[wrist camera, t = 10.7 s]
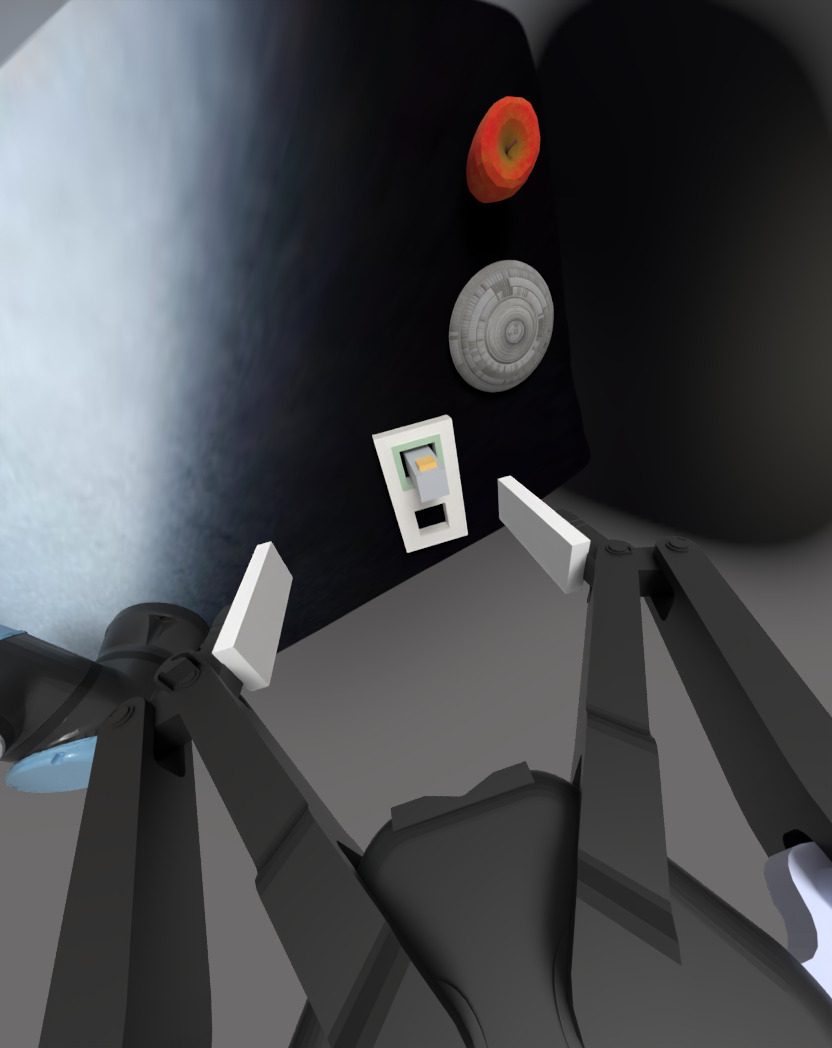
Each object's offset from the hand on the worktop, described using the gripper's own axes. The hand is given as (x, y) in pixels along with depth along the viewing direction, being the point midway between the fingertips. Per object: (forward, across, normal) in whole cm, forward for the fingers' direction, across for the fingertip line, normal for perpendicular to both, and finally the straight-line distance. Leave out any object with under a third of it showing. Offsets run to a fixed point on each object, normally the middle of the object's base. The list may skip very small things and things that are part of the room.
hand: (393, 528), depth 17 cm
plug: (+32, +6, -9) cm, 33 cm away
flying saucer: (+32, +21, +6) cm, 39 cm away
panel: (+32, +7, -14) cm, 35 cm away
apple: (+32, +20, +21) cm, 43 cm away
